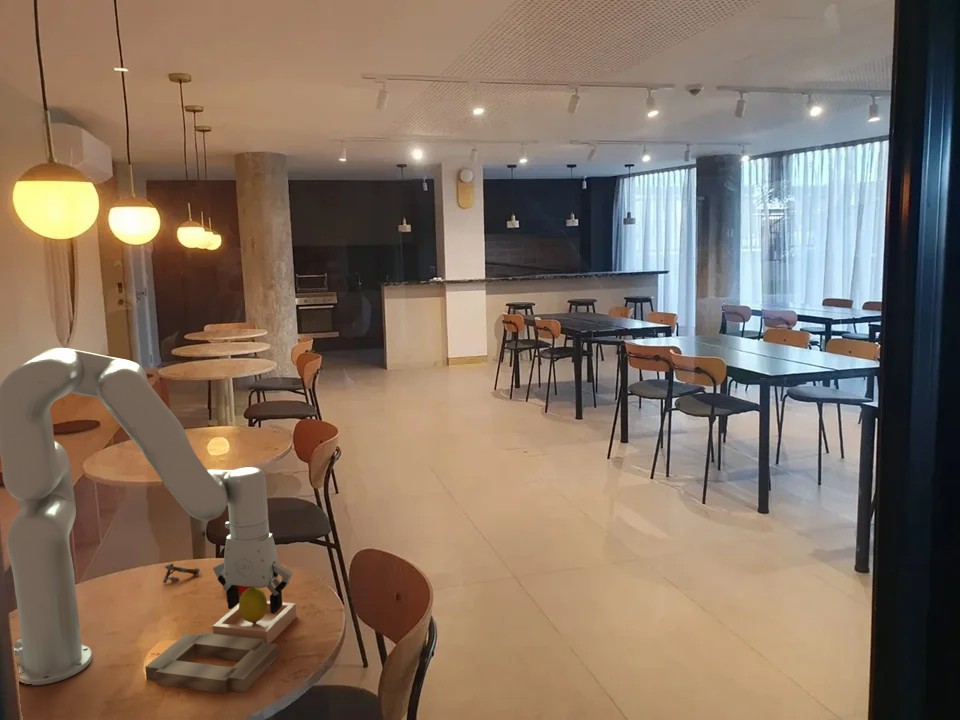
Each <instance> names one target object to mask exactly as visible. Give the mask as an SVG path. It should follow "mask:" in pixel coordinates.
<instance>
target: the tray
mask: <svg viewBox="0 0 960 720" xmlns="http://www.w3.org/2000/svg"><path fill="white" fill-rule="evenodd" d="M296 618H297V604H296V603H294V602H285V601H282V606H281V608H280V609H279V610H278V611H277V612H276V613H275V614H272V613H271V609H270V600H267V611H266V614H265V615H264V617H263V618H262V619H261V620H259V621H257V623H255V624H253V623H251V622H248V621H246V620H244V619H243V618H242V616H241V614H240V611H239V603H238V604H237V605H236V606H235V607H234V608H232V609H230V610H229V611H228V612H227V613H226V614H225V615H224V616H222V617H221V618H220V619H219V620H218V621H216V622H215V623H214V624H212V634H219V635H228V636H237V637H245V638H254V639H263V640H266V643H272V642H273V641H275V639H277V637H278V636H279V635H280V634H282V632H283V631H284V630H285V629H286V628H288V626H289V625H290V624H291V623H292V622H293V621H294V620H295V619H296Z"/></svg>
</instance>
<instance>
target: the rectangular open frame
mask: <svg viewBox="0 0 960 720" xmlns="http://www.w3.org/2000/svg"><path fill="white" fill-rule="evenodd" d="M196 656H197V657H205V658H213V659H221V660H230V661H238V662H237V663H236V664H234V666H232V667H231V666H225V665H224V666H223V665H215V664H209V663H199V662H192V661H191V660H193V658H194V657H196ZM278 657H279V644H278V643H272V642H271V643H266V640H263V639H254V638H245V637H237V636H228V635H219V634H213V633H210V632H209V633H208V632H201V633H200V634H192V633H185V634H184V635H182V636H181V637H180V638H179V639H178V640H176V641H175V642H174V643H172V644H171V645H170V646H168V648H167V649H165V650H164V651H162V653H161V654H159V655H158V656H157V657H155V658H154V659H153V660H151V662H149V663H148V664H147V665H146V666H144V667H145V677H146V680H149V681H156V685H158V686H167V687H174V688H181V689H188V690H195V691H197V690H198V691H203V692H204V691H205V692H211V693H216V694H217V693H219V694H225V695H226V694H228V692H239V693H246V692H247V690H248V689H250V687H251V686H253V684H255V682H256V681H257V680H259V678H260V677H261V676H262V675H263V674H264V672H266V670H267V669H268V668H269V667H270V666H271V665H272V664H273V663H274V662H275V661H276V659H278Z"/></svg>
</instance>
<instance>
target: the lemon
mask: <svg viewBox="0 0 960 720" xmlns="http://www.w3.org/2000/svg"><path fill="white" fill-rule="evenodd" d="M267 601H268V599H267V597H266V593H265V592H264V591H263V590H262V588H257V587H250V588H249V589H247V590H246V591H244V592H243V594H241V596H240V597H239V603H238V604H239V611H240V614H241V616H242V618H243V619H244V620H246V621H248V622H251V623H253V624H255V623H257V621H259V620H261V619H262V618H263V617H264V615H265V614H266V611H267Z"/></svg>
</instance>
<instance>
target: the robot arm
mask: <svg viewBox="0 0 960 720" xmlns="http://www.w3.org/2000/svg"><path fill="white" fill-rule="evenodd" d="M69 394H73V395H75V394H76V395H81V396H87V397H93V398H98V399H99V402H101V404H102V405H103V406H104V407H105V409H106V410H107V411H108V412H109V414H110V415H111V416H112V417H113V418H114V420H115V421H116V422H117V423H118V425H120V427H122V429H123V430H124V431H125V432H126V434H127V435H128V436H129V438H131V440H132V441H133V442H134V444H135V445H136V446H137V447H138V448H139V450H140V451H141V452H142V454H143V456H144V457H145V459H146V461H147V462H148V463H149V465H150V466H151V468H153V470H154V471H155V473H156V474H157V476H158V477H159V479H160V480H161V482H162V483H163V484H164V486H165V487H166V489H167V490H168V491H169V492H170V494H171V495H172V496H173V497H174V499H176V501H177V502H178V503H179V504H180V506H181V507H182V508H183V509H184V510H185V511H186V512H187V514H189V515H190V516H191V517H192V518H194V519H196V520H198V521H203V522H207V521H212V520H215V519H217V518H219V517H220V516H222V514H223V513H224V512H225V510H226V508H228V509H227V510H228V520H229V521H226V522H225V524H224V527H225V529H228V530H229V534H228V535H227V536H226V540H225V546H224V554H223V555H224V557H223V562H221V563H219V564H217V565H215V566H214V567H213V569H212V570H213V571H214V574H215V576H216V577H217V581H218V583H220V585H222V586H223V587H222V589H223V591H225V592H226V593H225V594H226V602H227V608H228V610H232V609H233V608H234V607H235V606H237V605H238V604H239V602H240V592H239V589H238V586H246V587H255V588H259V589H263V588H264V589H265V588H267V589H268V590H269V591H270V593H271V594H270V595H269V601H270V609H271V613H272V614H275V613H276V612H277V611H278V610H279V609H280V608H281V606H282V602H283V595H282V593H283V592H282V591H283V590H284V589H285V588H286V587H287V586H288V584H289V583H290V580H291V578H292V577H293V572H292V571H291V570H289V569H287V567H284V566H283V565H282V564H281V565H280V563H279V562H278V561H279V560H278V556H277V555H278V553H277V547H276V544H275V540H274V537H273V533H271V532H270V526H269V525H270V524H269V509H268V496H267V480H266V478H267V477H266V473H265V472H264V470H263V469H261V468H260V467H259V468H258V467H255V466H248V467H239V468H236V469H207V467H205V466H204V464H203V462H202V461H201V460H200V458H199V457H198V455H197V454H196V452H195V450H194V449H193V447H192V445H191V443H190V439H189V438H188V436H187V433H186V431H185V429H184V427H183V425H182V423H181V422H180V420H179V419H178V418H177V416H175V414H174V413H173V412H172V411H171V409H170V408H169V407H168V406H167V404H166V403H165V402H164V401H163V400H162V399H161V397H160V396H159V394H158V393H157V391H156V390H155V389H154V388H153V387H152V385H151V384H150V383H149V382H148V376H147V372H146V371H145V369H144V368H143V367H142V366H141V365H140V364H138V363H137V362H134V361H132V360H128V359H124V358H119V357H113V356H107V355H103V354H99V353H98V354H97V353H93V352H88V351H82V350H77V349H73V348H68V347H66V348H65V347H53V348H49V349H47V350H45V351H43V352H41V353H39V354H38V355H36V356H34V357H33V358H31V359H29V360H27V361H26V362H24V363H23V364H21V365H20V366H18V367H17V368H15V369H14V370H12V371H11V372H10V373H9V374H8V375H7V376H5V378H4V379H3V381H2V383H0V463H1V471H2V472H1V473H2V480H3V485H4V487H5V489H6V491H7V492H8V493H9V495H11V496H12V497H13V498H14V499H16V500H17V502H18V508H19V511H18V512H17V514H16V515H15V517H14V518H13V519H12V521H11V523H10V525H9V527H8V531H7V535H6V549H7V555H8V558H9V562H10V567H11V571H12V576H13V584H14V591H15V592H14V593H15V598H16V605H17V606H16V607H17V614H18V622H19V623H18V624H19V631H20V638H19V639H17V640H16V641H14V644H13V645H14V646H13V648H14V651H15V656H14V657H19V658H18V659H19V664H18V665H17V666H18V667H19V673H20V674H21V669H20V666H21V668H22V673H24V674H22V676H21V675H20V679H21V680H23V681H24V682H25V683H29V684H32V685H31V686H43V685H50V684H53V683H57V682H60V681H63V680H66V679H68V678H71V677H72V676H74V675H77V674H78V673H80V672H81V671H83V670H85V668H86V667H88V665H89V664H90V663H91V662H92V661H93V652H92V649H91V648H90V647H89V646H87V645H84V644H82V637H81V626H80V617H79V607H78V600H77V589H76V588H77V587H76V579H75V571H74V564H73V559H72V553H71V546H70V534H71V531H72V528H73V526H74V523H75V520H76V513H77V511H76V500H75V493H74V486H73V485H74V484H73V478H72V468H71V464H70V458H69V455H68V452H67V451H66V449H65V448H64V447H63V446H62V445H61V444H60V443H59V442H57V441H55V436H54V424H53V421H52V415H51V407H52V405H53V403H54V402H56V401H58V400H59V399H62V398H64V397H67V395H69ZM279 576H281V580H280V579H279V578H278V577H279Z"/></svg>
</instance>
